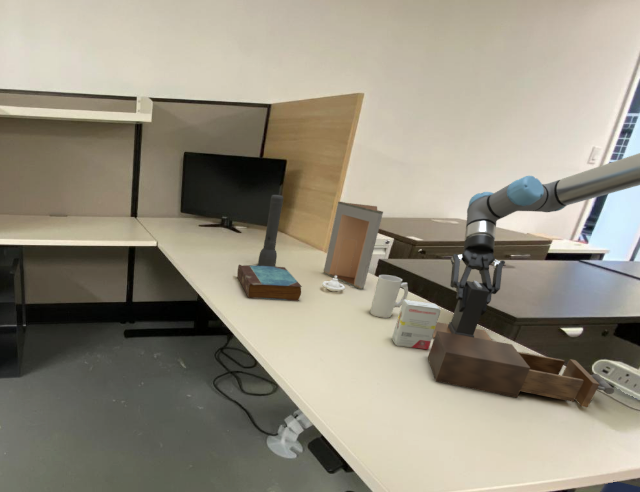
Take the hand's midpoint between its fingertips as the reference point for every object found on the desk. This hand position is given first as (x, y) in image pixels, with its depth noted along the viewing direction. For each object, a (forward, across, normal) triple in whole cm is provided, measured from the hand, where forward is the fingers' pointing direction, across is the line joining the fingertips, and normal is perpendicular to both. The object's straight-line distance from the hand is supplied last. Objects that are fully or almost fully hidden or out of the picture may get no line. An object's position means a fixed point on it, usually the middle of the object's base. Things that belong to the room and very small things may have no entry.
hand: (472, 311), depth 129 cm
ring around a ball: (-13, +37, -26) cm, 47 cm away
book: (-5, +59, -18) cm, 62 cm away
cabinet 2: (+24, +3, +12) cm, 27 cm away
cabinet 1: (-26, +31, -39) cm, 56 cm away
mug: (-1, +20, -14) cm, 24 cm away
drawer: (+23, -13, +12) cm, 29 cm away
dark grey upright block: (+3, 0, -8) cm, 9 cm away
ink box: (+14, +15, +2) cm, 21 cm away
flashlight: (-27, +64, -40) cm, 80 cm away
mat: (+4, 0, -9) cm, 10 cm away
